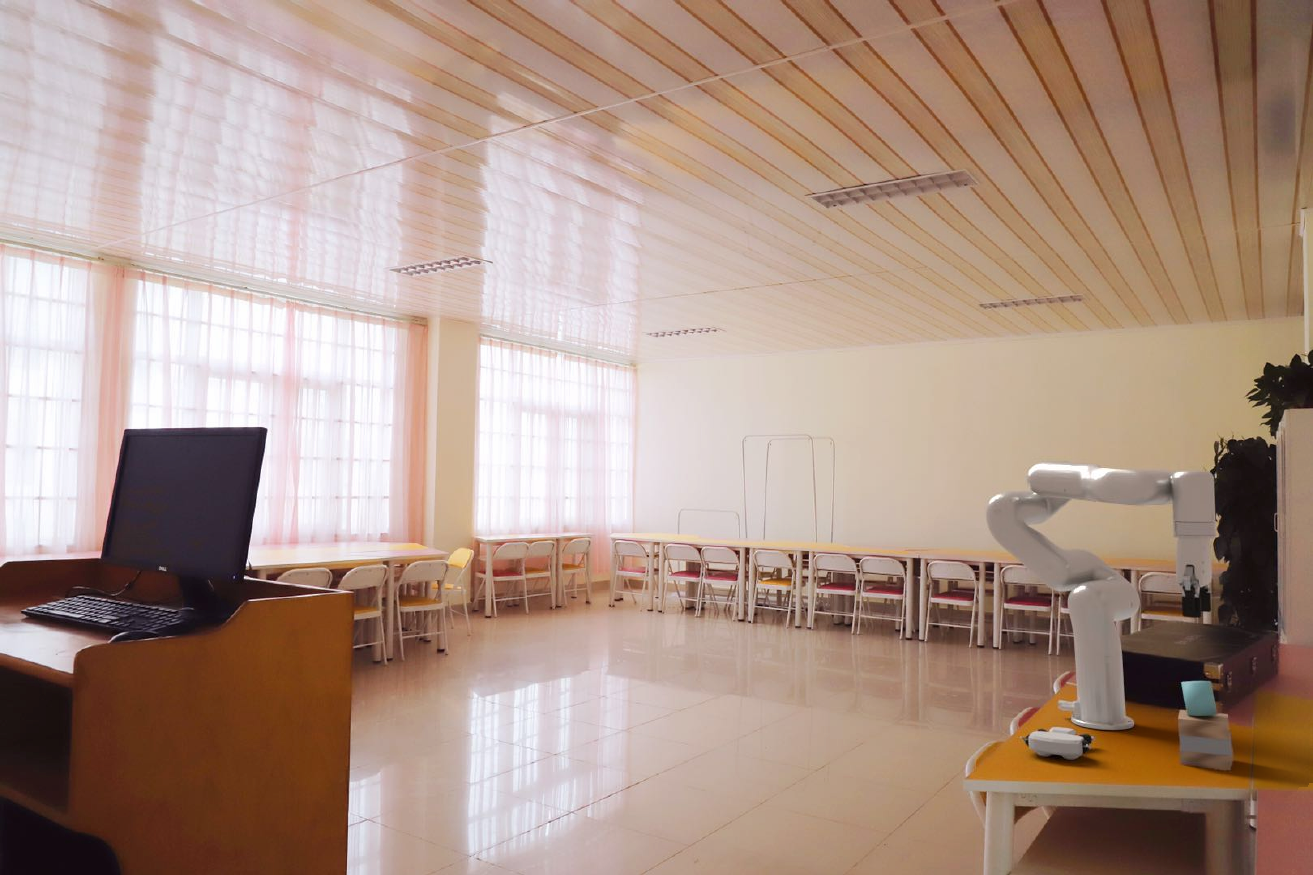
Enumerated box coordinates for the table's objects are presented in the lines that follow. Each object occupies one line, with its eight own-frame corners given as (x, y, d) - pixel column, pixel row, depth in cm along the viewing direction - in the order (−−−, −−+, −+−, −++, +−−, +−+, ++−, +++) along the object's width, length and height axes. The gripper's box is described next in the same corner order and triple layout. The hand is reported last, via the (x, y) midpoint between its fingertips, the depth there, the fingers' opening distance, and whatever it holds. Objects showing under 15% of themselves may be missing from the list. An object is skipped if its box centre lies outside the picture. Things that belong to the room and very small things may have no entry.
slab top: (1178, 734, 170) (1177, 718, 170) (1181, 725, 177) (1180, 709, 177) (1228, 739, 166) (1227, 723, 166) (1228, 729, 173) (1227, 714, 173)
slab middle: (1180, 750, 170) (1179, 734, 170) (1183, 740, 177) (1182, 724, 177) (1230, 756, 166) (1229, 739, 166) (1231, 745, 172) (1230, 729, 173)
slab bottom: (1180, 766, 170) (1179, 750, 170) (1185, 755, 177) (1184, 740, 177) (1230, 772, 166) (1229, 756, 166) (1233, 762, 172) (1232, 746, 172)
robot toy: (1034, 744, 189) (1019, 757, 177) (1034, 722, 190) (1019, 733, 177) (1099, 752, 182) (1088, 766, 170) (1098, 729, 183) (1087, 741, 171)
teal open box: (1185, 715, 171) (1179, 683, 172) (1188, 712, 175) (1182, 681, 176) (1215, 715, 168) (1209, 682, 170) (1218, 712, 172) (1212, 680, 174)
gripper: (1183, 527, 193) (1185, 607, 193) (1163, 532, 181) (1166, 617, 180) (1223, 528, 188) (1226, 610, 188) (1206, 533, 176) (1209, 621, 175)
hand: (1197, 613), depth 184 cm, fingers open, 9 cm apart
